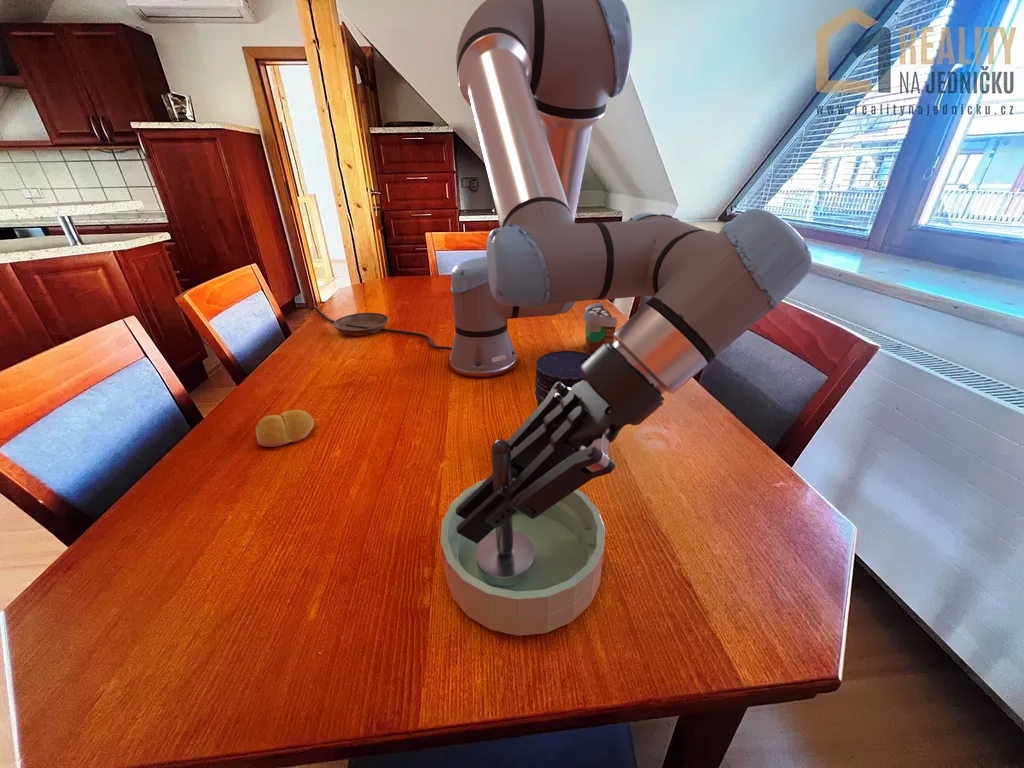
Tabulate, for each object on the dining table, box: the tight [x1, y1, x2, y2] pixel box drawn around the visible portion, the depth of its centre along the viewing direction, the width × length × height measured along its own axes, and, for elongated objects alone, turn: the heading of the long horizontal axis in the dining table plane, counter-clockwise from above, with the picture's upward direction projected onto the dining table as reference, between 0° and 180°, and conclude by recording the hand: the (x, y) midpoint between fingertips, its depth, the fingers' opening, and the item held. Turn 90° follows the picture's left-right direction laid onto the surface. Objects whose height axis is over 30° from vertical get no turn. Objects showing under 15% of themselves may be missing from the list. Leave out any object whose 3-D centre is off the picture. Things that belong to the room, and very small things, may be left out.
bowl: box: [439, 478, 606, 637], centre depth 47 cm, size 18×18×6 cm
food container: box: [582, 302, 618, 355], centre depth 102 cm, size 12×6×10 cm, turn 5°
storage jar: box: [534, 350, 592, 409], centre depth 65 cm, size 10×10×15 cm
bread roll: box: [255, 409, 315, 448], centre depth 73 cm, size 8×9×4 cm
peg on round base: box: [476, 438, 534, 586], centre depth 43 cm, size 6×6×16 cm
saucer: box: [332, 312, 390, 337], centre depth 119 cm, size 15×15×3 cm
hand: (466, 525), depth 44 cm, fingers closed on peg on round base, 2 cm apart
